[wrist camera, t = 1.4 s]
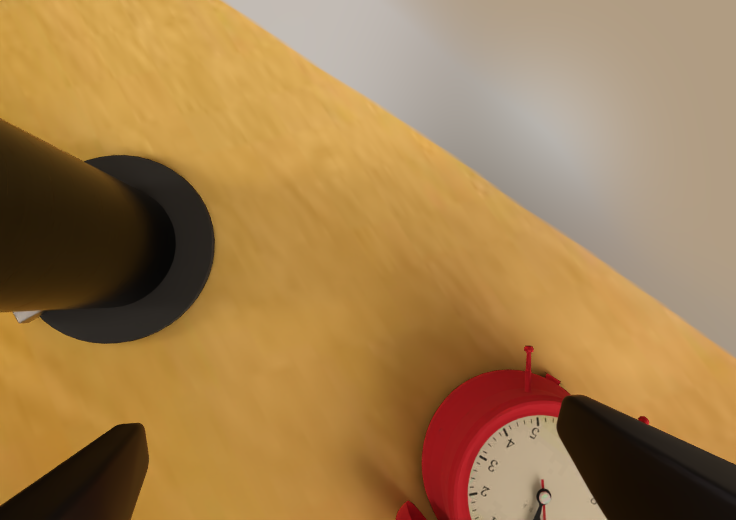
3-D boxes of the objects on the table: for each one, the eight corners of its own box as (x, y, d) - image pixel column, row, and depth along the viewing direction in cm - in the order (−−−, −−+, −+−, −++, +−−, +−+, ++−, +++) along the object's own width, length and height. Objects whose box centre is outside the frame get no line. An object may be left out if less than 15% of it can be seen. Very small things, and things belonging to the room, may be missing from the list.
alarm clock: (687, 430, 18) (612, 833, 13) (592, 416, 24) (514, 686, 19) (512, 323, 18) (366, 680, 13) (460, 335, 24) (346, 582, 19)
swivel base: (140, 380, 20) (136, 381, 20) (-22, 276, 20) (-29, 276, 20) (251, 220, 21) (249, 218, 21) (98, 123, 22) (94, 120, 21)
